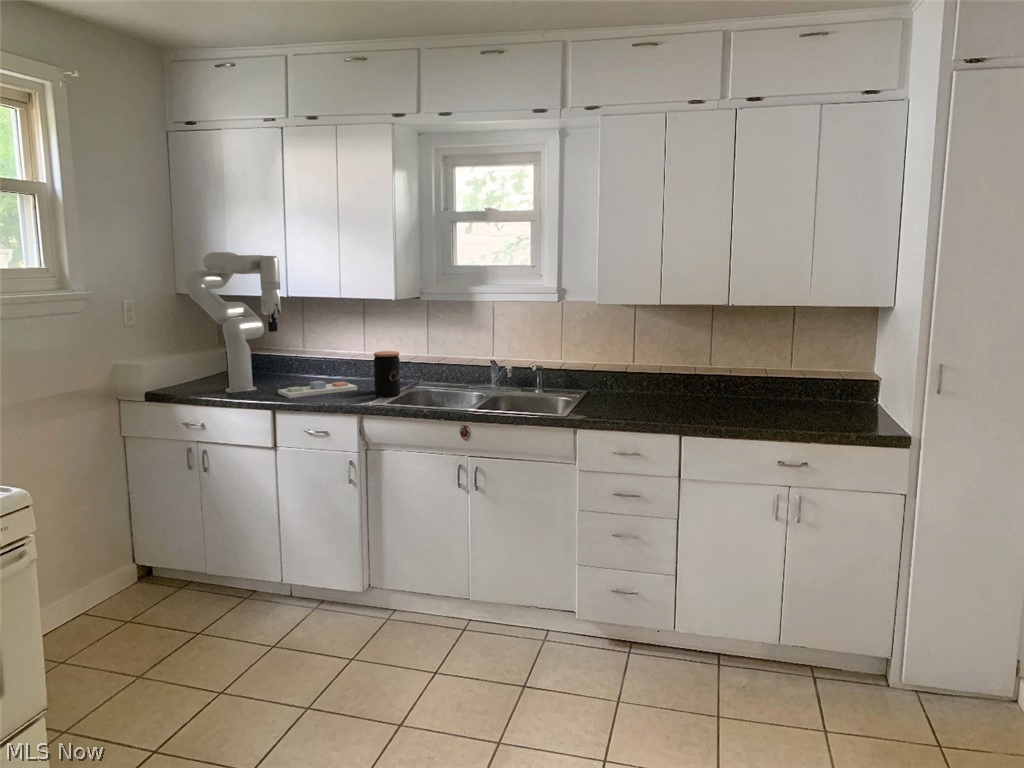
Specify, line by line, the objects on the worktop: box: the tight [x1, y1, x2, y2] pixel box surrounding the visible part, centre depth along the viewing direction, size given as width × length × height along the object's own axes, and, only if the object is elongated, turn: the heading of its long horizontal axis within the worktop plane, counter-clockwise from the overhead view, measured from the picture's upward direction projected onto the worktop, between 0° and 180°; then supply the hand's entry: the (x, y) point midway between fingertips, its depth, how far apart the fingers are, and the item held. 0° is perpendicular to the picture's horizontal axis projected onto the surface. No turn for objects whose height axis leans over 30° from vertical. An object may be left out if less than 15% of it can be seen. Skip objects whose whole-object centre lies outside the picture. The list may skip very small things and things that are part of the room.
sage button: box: [286, 385, 303, 392], centre depth 313 cm, size 5×5×4 cm
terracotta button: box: [331, 381, 349, 387], centre depth 325 cm, size 5×5×4 cm
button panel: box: [277, 382, 358, 399], centre depth 319 cm, size 12×30×3 cm, turn 127°
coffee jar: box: [373, 350, 401, 398], centre depth 317 cm, size 11×11×18 cm
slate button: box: [309, 380, 327, 390], centre depth 319 cm, size 5×5×4 cm
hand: (273, 331), depth 312 cm, fingers closed
